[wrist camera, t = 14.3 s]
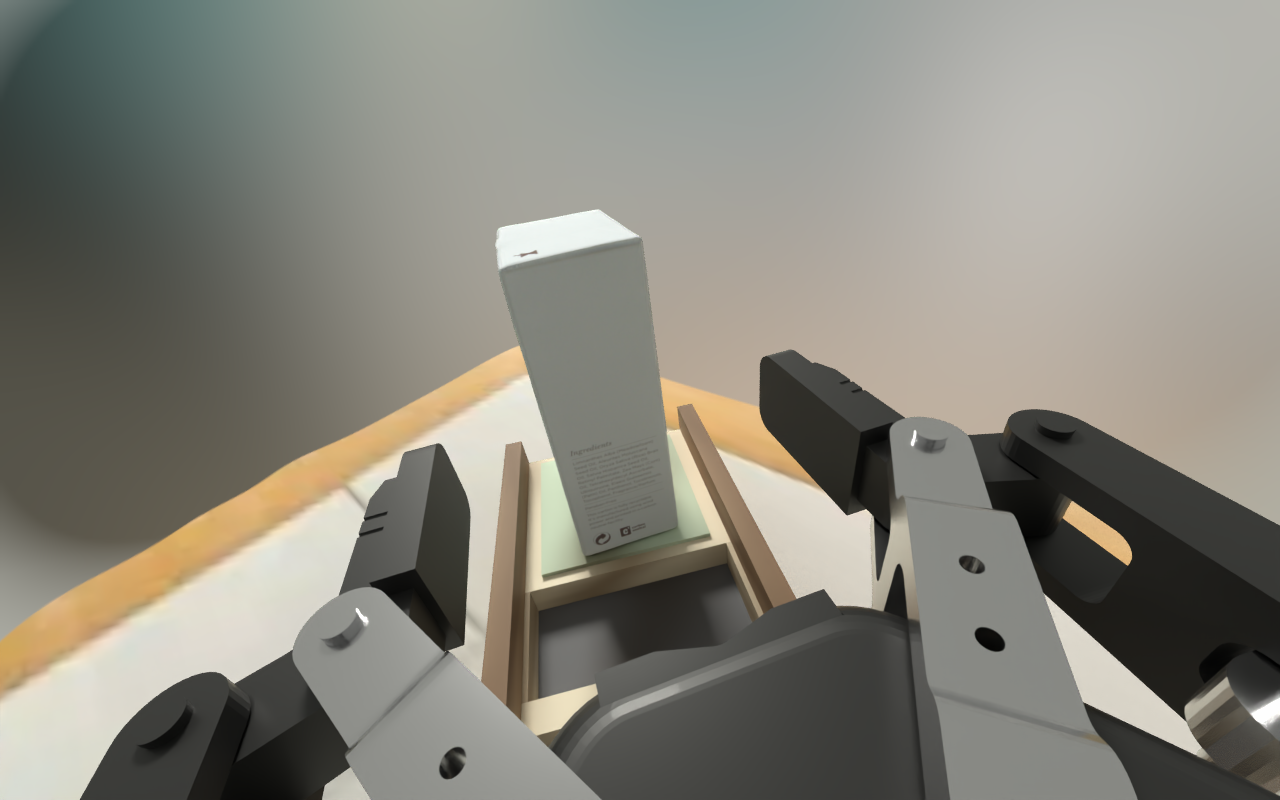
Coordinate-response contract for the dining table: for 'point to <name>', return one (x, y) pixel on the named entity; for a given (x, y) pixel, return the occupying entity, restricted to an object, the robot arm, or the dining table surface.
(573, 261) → the skincare box
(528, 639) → the board
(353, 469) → the dining table surface
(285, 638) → the dining table surface
